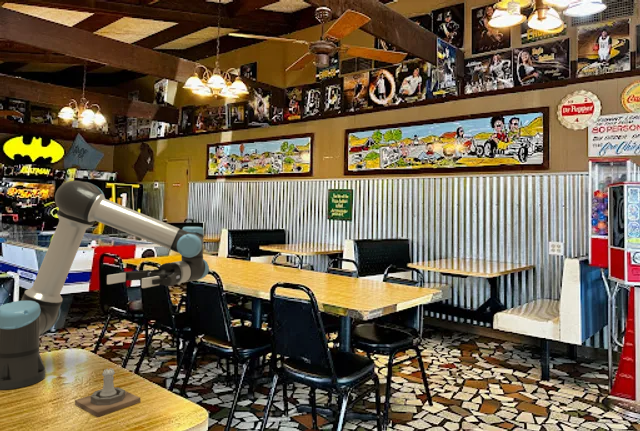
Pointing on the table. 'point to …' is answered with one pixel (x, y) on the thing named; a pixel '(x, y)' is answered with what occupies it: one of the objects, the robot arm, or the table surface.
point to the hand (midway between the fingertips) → (124, 281)
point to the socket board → (106, 407)
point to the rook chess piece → (108, 384)
